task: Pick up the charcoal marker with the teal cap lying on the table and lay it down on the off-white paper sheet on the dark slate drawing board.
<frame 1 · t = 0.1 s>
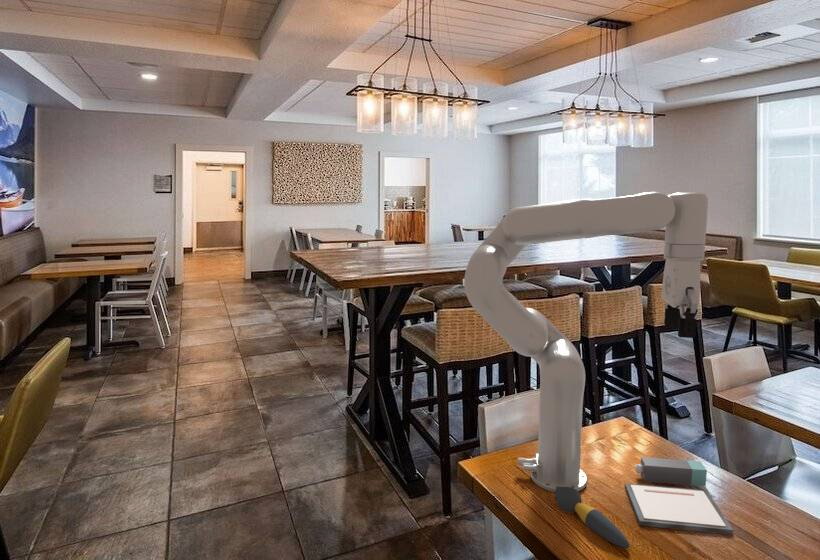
hand: (679, 331, 110), 37 cm above the table, fingers open, 9 cm apart
drawing board: (674, 509, 108), on the table
paintbrush: (588, 524, 104), on the table
marker: (672, 479, 119), on the table
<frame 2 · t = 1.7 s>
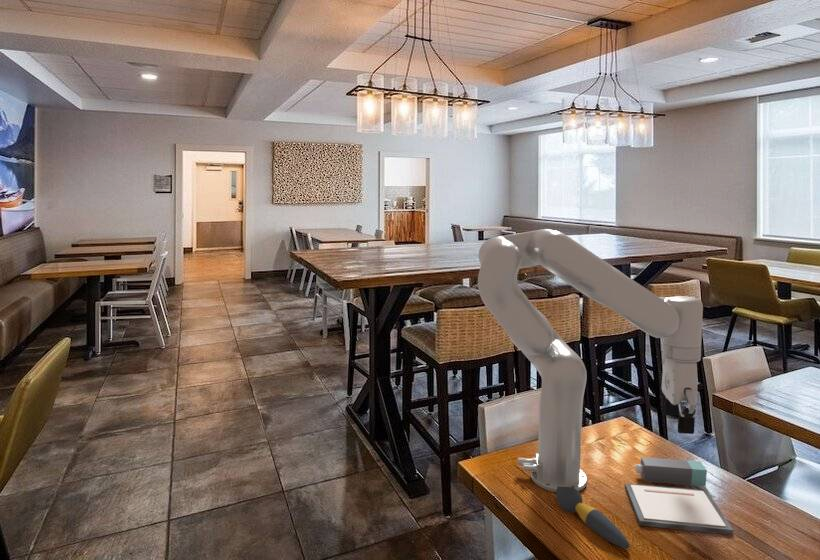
hand: (678, 423, 117), 14 cm above the table, fingers open, 9 cm apart
nothing on the table moved.
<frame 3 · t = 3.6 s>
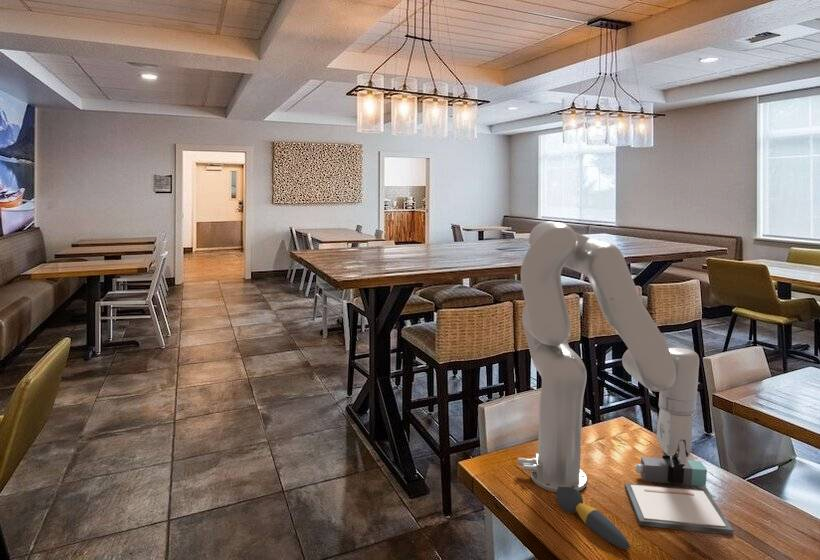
hand: (672, 476, 119), 1 cm above the table, fingers closed on marker, 4 cm apart
marker: (672, 479, 119), on the table, touching gripper
everything else where it was.
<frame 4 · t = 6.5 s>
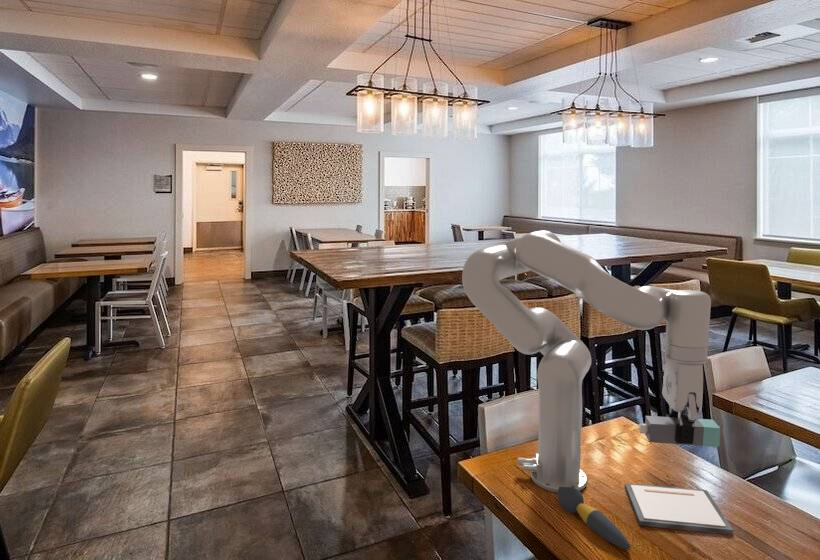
hand: (680, 436, 105), 16 cm above the table, fingers closed on marker, 4 cm apart
marker: (680, 440, 105), point 16 cm above the table, touching gripper
everything else where it was.
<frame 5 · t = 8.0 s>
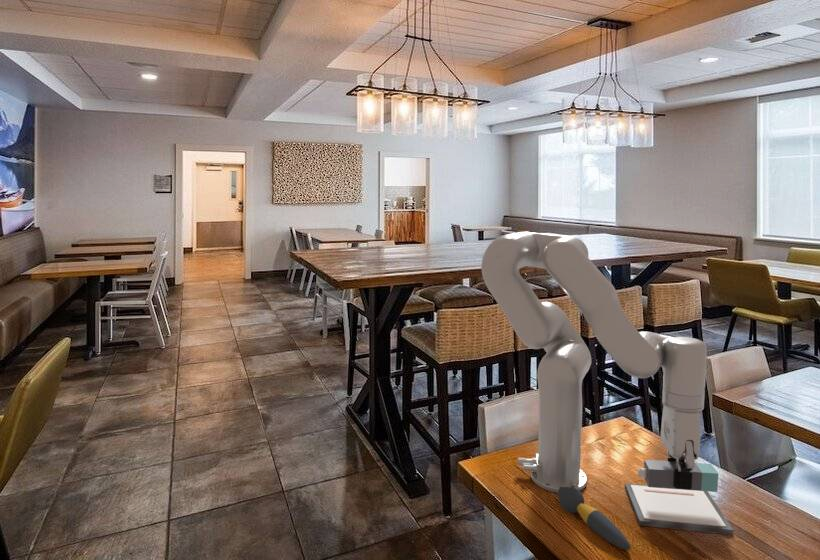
hand: (678, 481, 107), 6 cm above the table, fingers closed on marker, 4 cm apart
marker: (679, 484, 107), point 6 cm above the table, touching gripper
everything else where it was.
when the fingers open (3 cm above the table, at t = 9.4 s): marker drops 1 cm, resting on drawing board.
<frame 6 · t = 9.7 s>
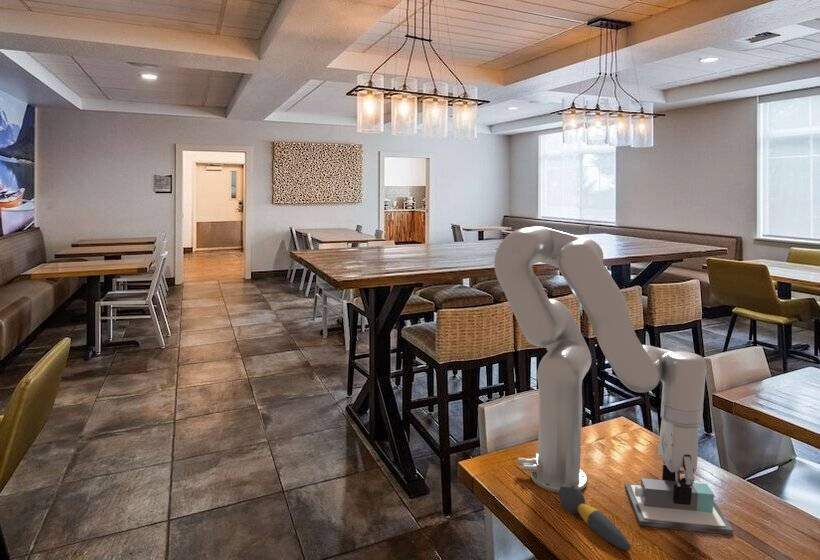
hand: (675, 492, 107), 4 cm above the table, fingers open, 7 cm apart
marker: (675, 503, 108), point 1 cm above the table, touching drawing board
everything else where it was.
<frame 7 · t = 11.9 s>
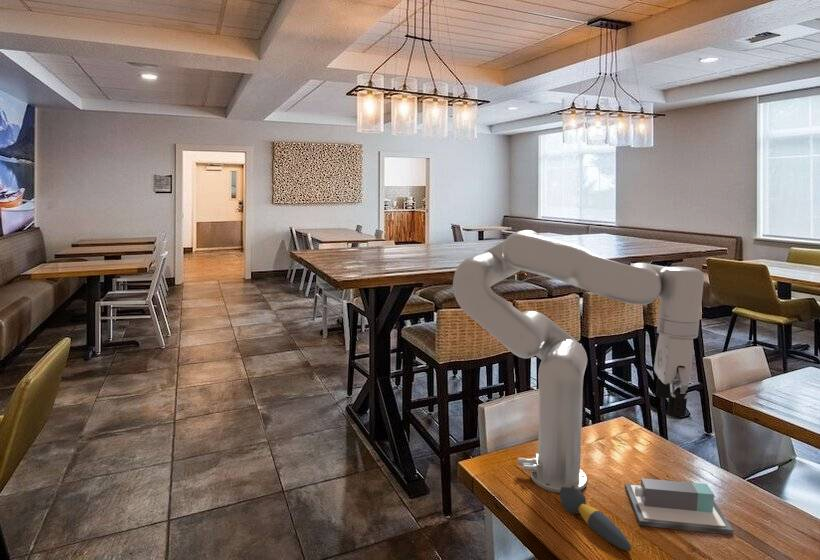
hand: (669, 405, 108), 22 cm above the table, fingers open, 9 cm apart
nothing on the table moved.
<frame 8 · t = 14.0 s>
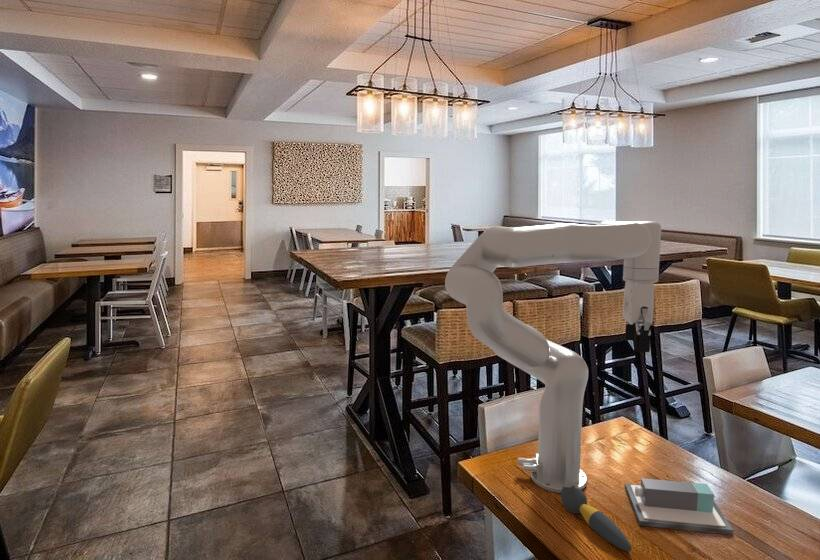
hand: (636, 345, 122), 30 cm above the table, fingers open, 9 cm apart
nothing on the table moved.
at the end: marker inside the target area on the drawing board (0.1 cm from its centre), point 1.2 cm above the drawing board's base; marker touching drawing board; the gripper is holding nothing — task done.
